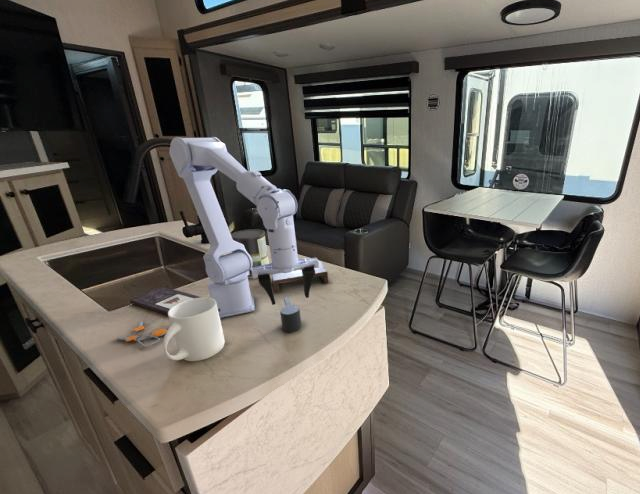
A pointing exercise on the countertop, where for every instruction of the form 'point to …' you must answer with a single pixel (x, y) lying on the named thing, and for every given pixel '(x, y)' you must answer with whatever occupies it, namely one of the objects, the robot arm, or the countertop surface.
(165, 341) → the mug
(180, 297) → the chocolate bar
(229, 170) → the robot arm
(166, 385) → the countertop surface
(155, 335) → the key chain
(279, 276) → the shelf
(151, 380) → the countertop surface
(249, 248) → the coffee can
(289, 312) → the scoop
